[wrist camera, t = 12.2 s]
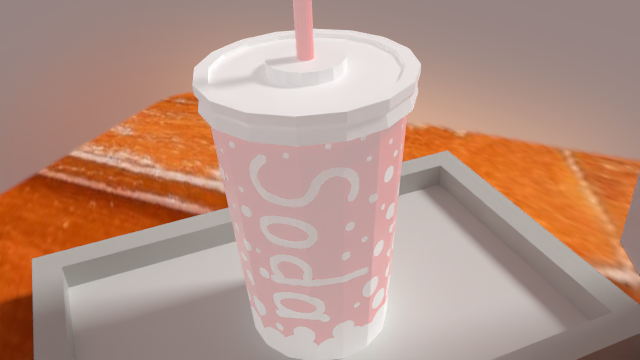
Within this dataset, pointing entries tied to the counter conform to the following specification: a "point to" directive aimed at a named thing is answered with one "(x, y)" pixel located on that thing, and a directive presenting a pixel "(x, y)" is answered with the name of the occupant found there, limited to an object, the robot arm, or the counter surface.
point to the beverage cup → (312, 176)
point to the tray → (403, 296)
